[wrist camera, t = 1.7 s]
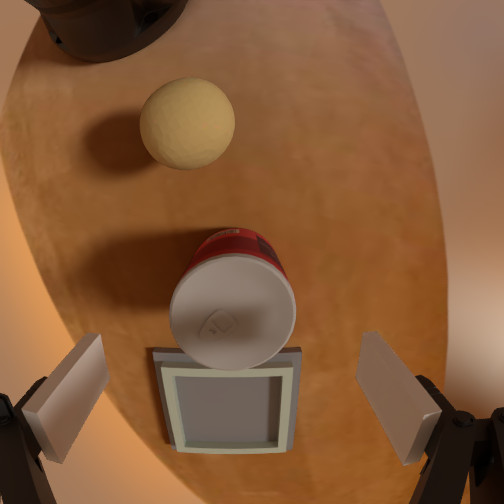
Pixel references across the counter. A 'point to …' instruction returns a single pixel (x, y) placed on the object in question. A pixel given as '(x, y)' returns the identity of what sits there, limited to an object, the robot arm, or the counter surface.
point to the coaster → (229, 403)
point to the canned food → (233, 302)
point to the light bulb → (187, 123)
